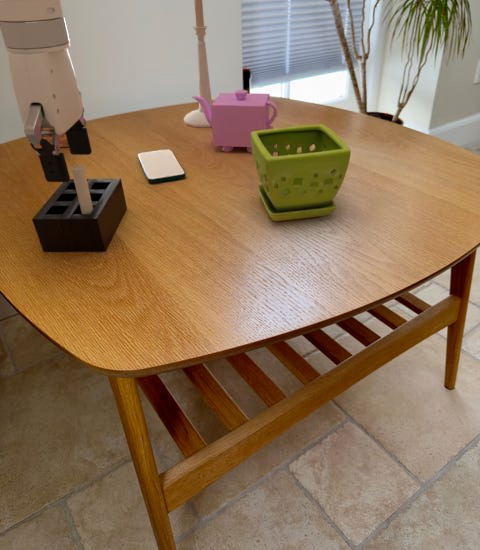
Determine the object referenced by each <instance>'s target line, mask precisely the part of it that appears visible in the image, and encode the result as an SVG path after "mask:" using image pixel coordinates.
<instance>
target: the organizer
mask: <svg viewBox="0 0 480 550" xmlns="http://www.w3.org/2000/svg"><path fill="white" fill-rule="evenodd" d="M86 179H87V183H88V188H89V192H90V197H91V201H92V206H93V211H92V212H91V214H82V212H81V208H80V203H79V199H78V195H77V191H76V187H75V183H74V178H70V180H69V181H68V182H61V184H59V186H58V187H57V189H55V191H53V193H52V195H51V196H50V197H49V198H48V199H47V200H46V202H45V203H44V204H43V205H42V206H41V208H40V209H39V210H38V211H37V212H36V213H35V215H34V216H33V217H32V219H31V221H32V223H33V227H34V229H35V232H36V234H37V238H38V241H39V244H40V247H41V249H42V251H43V252H44V253H52V252H53V253H71V252H72V253H73V252H74V253H75V252H76V253H78V252H81V253H83V252H87V253H88V252H89V253H91V252H100V253H101V252H106V251H107V249H108V247H109V245H110V243H111V242H112V239H113V237H114V235H115V234H116V231H117V230H118V228H119V225H120V224H121V221H122V220H123V218H124V216H125V213H126V211H127V210H128V206H127V201H126V196H125V192H124V191H125V190H124V187H123V182H122V178H86Z"/></svg>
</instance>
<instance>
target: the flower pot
mask: <svg viewBox="0 0 480 550" xmlns="http://www.w3.org/2000/svg"><path fill="white" fill-rule="evenodd" d="M275 145H276V147H275ZM313 145H314V149H312V150H311V147H312V146H313ZM251 146H252V157H253V162H254V164H255V165H254V166H255V170H256V172H257V175H258V178H259V181H260V183H261V184H258V185H257V186H256V189H257V192H258V195H259V198H260V199H261V201H262V203H263V205H264V209H265V210H266V212H267V214H268V216H269V217H270V219H271V220H272V221H273V222H280V221H282V222H283V221H290V220H292V221H293V220H300V219H301V220H302V219H309V218H318V217H325V216H329V215H332V214H333V213H334V212H335V211H337V209H338V206H337V204H336V202H335V201H334V199H335V197H336V196H337V194H338V192H339V191H340V189H341V187H342V185H343V182H344V180H345V178H346V175H347V171H348V168H349V164H350V159H351V154H352V153H351V151H352V150H351V147H350V146H348V144H347V143H346V142H345V141H344V140H343V139H342V138H341V137H340V136H339V135H338V134H337V133H335V132H334V131H333V130H332V129H330V128H329V127H327V125H325V124H322V123H318V124H306V125H296V126H295V125H294V126H286V127H285V126H284V127H278V128H274V129H268V130H260V131H254V132H251ZM287 146H289V147H288V148H287ZM298 148H301V151H300V152H299V151H298ZM274 153H277V156H276V155H275V156H274Z"/></svg>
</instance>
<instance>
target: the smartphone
mask: <svg viewBox="0 0 480 550" xmlns="http://www.w3.org/2000/svg"><path fill="white" fill-rule="evenodd" d="M137 157H138V161H139V163H140V165H141V167H142V170H143V172H144V175H145V177H146V179H147V182H148V183H151V184H152V183H160V182H166V181H172V180H179V179H183V178H186V172H185V170H184V168H183V166H182V165H181V164H180V161H179V160H178V159H177V157H176V155H175V153H174V152H173V150H172V149H168V148H167V149H159V150H153V151H146V152H140V153H138V154H137Z"/></svg>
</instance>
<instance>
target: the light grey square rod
mask: <svg viewBox="0 0 480 550" xmlns="http://www.w3.org/2000/svg"><path fill="white" fill-rule="evenodd" d="M70 170H71V174H72V179H74V183H75V187H76V191H77V195H78V199H79V203H80V208H81V212H82V214H91V212H92V211H93V206H92V201H91V197H90V192H89V188H88V183H87V179H88V178H87V175H86V169H85V166H84V165H73V166H72V167H71V168H70Z"/></svg>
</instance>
